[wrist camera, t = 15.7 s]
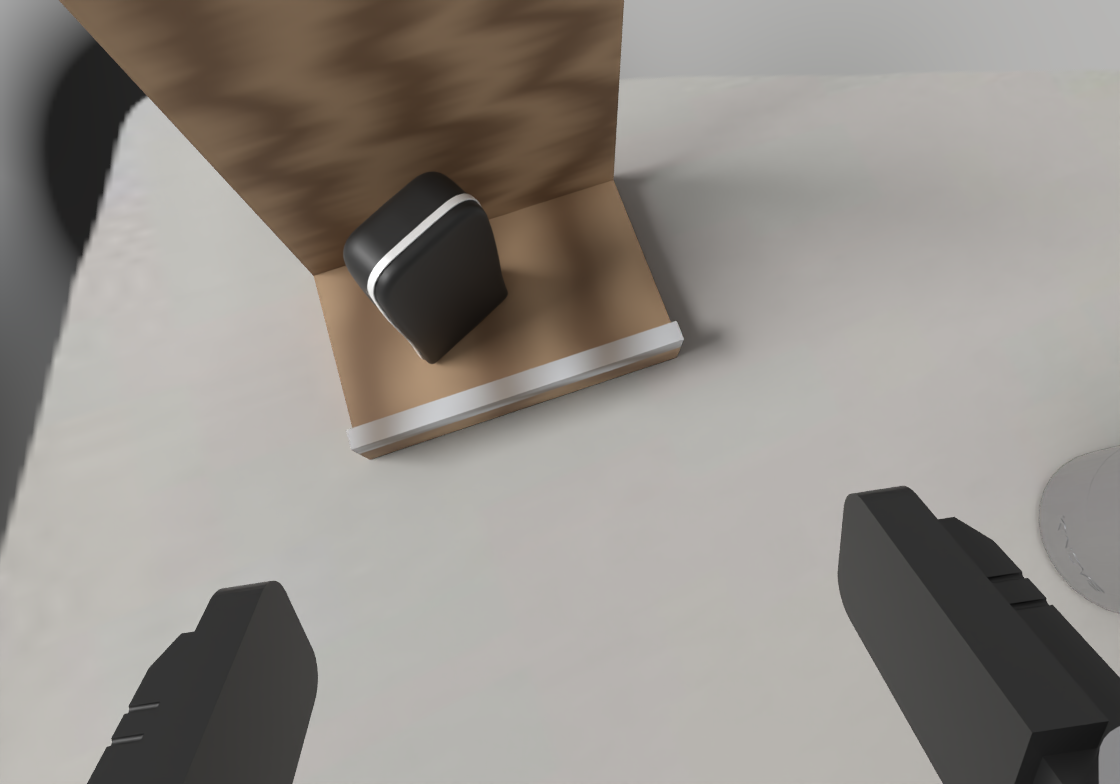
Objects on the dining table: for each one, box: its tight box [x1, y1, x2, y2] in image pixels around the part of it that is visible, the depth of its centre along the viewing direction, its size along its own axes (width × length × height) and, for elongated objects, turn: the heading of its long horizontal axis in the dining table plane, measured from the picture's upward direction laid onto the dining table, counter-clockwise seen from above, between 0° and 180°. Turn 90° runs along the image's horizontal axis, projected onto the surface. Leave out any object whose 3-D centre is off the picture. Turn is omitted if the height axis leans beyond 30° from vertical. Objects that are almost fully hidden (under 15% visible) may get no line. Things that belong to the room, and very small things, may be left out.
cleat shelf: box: [59, 0, 684, 459], centre depth 32 cm, size 20×14×24 cm
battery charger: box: [343, 171, 508, 364], centre depth 36 cm, size 7×4×11 cm, turn 135°
